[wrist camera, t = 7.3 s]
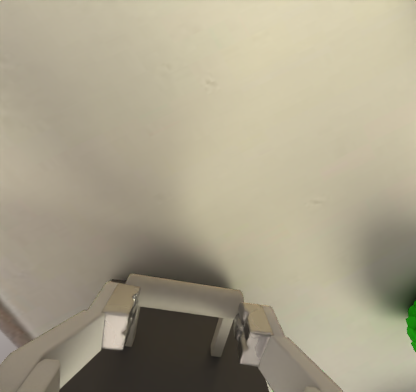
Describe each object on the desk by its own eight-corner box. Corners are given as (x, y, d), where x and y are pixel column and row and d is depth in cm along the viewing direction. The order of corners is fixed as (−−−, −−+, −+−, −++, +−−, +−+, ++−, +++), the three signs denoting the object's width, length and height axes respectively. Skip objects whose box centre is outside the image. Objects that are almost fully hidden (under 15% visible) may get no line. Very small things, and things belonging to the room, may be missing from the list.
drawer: (117, 229, 13) (17, 340, 6) (257, 254, 15) (321, 374, 7) (98, 391, 18) (25, 576, 10) (208, 400, 19) (214, 572, 11)
